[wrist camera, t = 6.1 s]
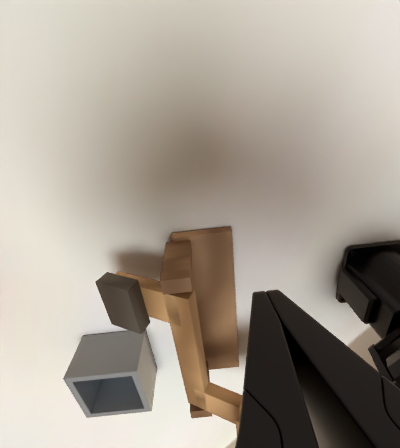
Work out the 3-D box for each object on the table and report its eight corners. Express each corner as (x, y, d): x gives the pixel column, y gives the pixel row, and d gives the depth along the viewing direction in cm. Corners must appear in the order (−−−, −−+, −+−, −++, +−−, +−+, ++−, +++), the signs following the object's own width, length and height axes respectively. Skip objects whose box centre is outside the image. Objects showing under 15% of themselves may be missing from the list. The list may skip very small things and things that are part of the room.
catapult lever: (357, 318, 12) (364, 364, 10) (320, 457, 20) (319, 500, 18) (116, 264, 19) (91, 285, 17) (154, 382, 27) (140, 407, 25)
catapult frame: (230, 226, 20) (243, 266, 15) (237, 359, 28) (247, 414, 23) (166, 233, 20) (158, 276, 15) (191, 364, 28) (192, 420, 23)
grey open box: (145, 328, 25) (137, 371, 21) (156, 367, 28) (151, 410, 24) (83, 335, 26) (63, 378, 21) (101, 373, 29) (86, 417, 25)
